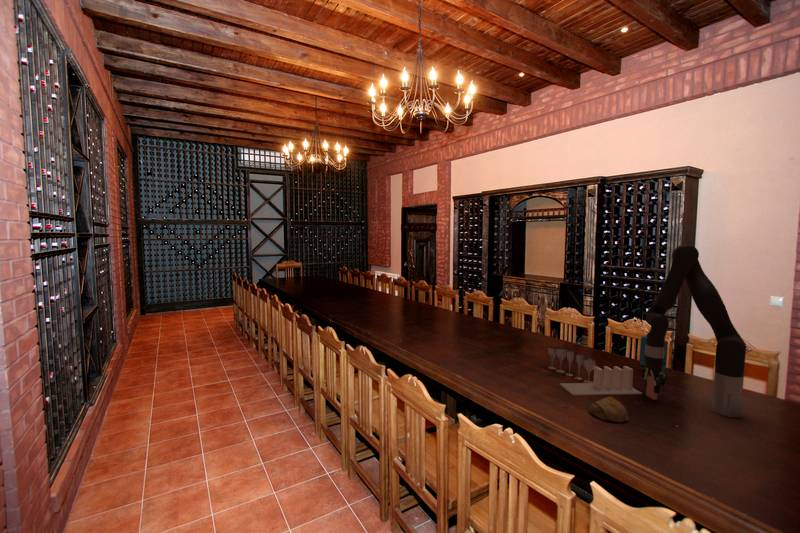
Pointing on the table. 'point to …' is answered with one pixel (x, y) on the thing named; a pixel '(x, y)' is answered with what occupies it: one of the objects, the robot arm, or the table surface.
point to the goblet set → (561, 354)
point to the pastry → (609, 410)
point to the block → (642, 352)
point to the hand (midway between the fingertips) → (651, 390)
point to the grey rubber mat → (595, 390)
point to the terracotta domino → (651, 388)
